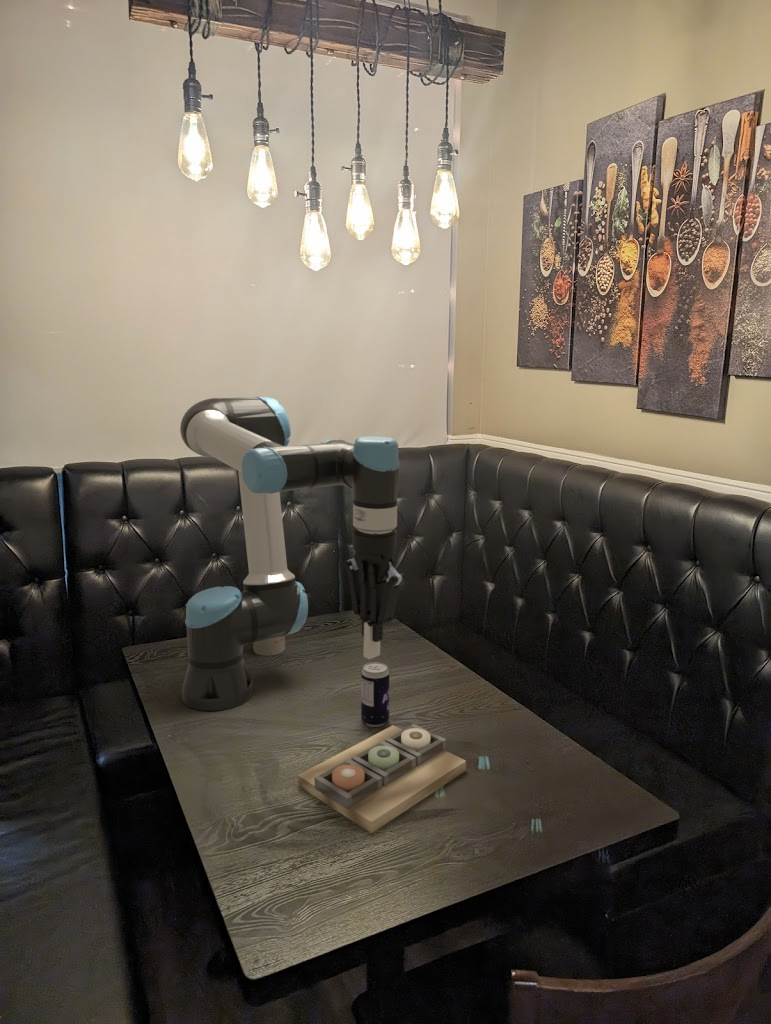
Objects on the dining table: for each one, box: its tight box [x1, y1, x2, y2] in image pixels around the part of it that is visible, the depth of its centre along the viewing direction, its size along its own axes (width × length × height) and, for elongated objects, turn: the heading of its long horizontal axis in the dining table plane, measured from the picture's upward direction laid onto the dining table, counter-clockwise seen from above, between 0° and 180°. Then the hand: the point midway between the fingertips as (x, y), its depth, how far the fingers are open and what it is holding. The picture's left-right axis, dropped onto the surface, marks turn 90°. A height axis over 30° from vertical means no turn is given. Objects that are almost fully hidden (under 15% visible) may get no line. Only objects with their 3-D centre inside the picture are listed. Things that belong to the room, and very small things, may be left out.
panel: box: [297, 723, 467, 834], centre depth 123 cm, size 18×25×4 cm
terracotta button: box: [332, 765, 364, 793], centre depth 117 cm, size 5×5×3 cm
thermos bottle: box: [252, 636, 286, 657], centre depth 176 cm, size 8×8×28 cm
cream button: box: [401, 728, 431, 752], centre depth 129 cm, size 5×5×3 cm
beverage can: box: [360, 661, 390, 728], centre depth 142 cm, size 6×6×12 cm
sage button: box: [368, 746, 399, 771], centre depth 123 cm, size 5×5×3 cm
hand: (371, 655), depth 125 cm, fingers closed
